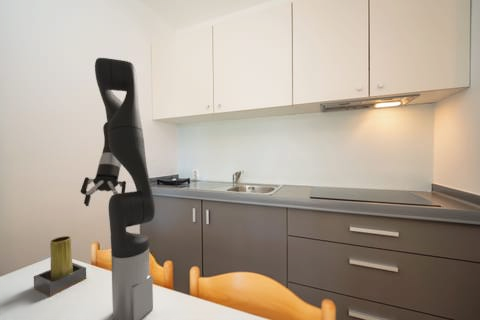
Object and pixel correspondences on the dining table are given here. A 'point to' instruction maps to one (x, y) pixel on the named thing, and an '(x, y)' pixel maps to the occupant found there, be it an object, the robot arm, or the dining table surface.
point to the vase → (61, 257)
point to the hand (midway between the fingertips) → (100, 206)
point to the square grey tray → (59, 280)
